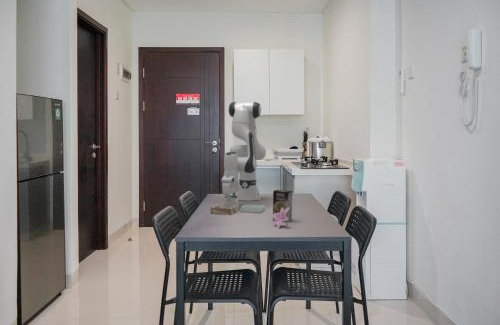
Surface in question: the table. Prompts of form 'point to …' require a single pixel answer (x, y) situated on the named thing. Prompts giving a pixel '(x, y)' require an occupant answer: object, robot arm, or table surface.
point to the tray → (253, 208)
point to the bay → (223, 210)
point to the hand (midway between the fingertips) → (231, 200)
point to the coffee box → (282, 202)
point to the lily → (280, 217)
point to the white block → (230, 202)
